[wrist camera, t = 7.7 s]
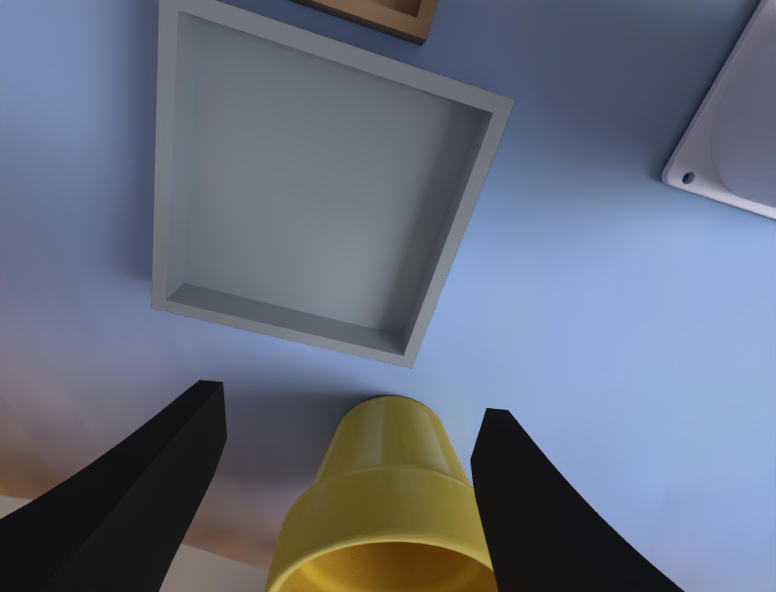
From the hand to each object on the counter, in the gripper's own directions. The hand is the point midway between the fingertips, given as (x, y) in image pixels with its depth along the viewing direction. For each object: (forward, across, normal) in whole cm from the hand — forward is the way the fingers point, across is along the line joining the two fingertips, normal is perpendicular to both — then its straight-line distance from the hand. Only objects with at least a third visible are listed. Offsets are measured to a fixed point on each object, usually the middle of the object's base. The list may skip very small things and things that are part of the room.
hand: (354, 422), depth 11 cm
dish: (+10, +2, -3) cm, 11 cm away
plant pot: (+10, -2, +10) cm, 15 cm away
